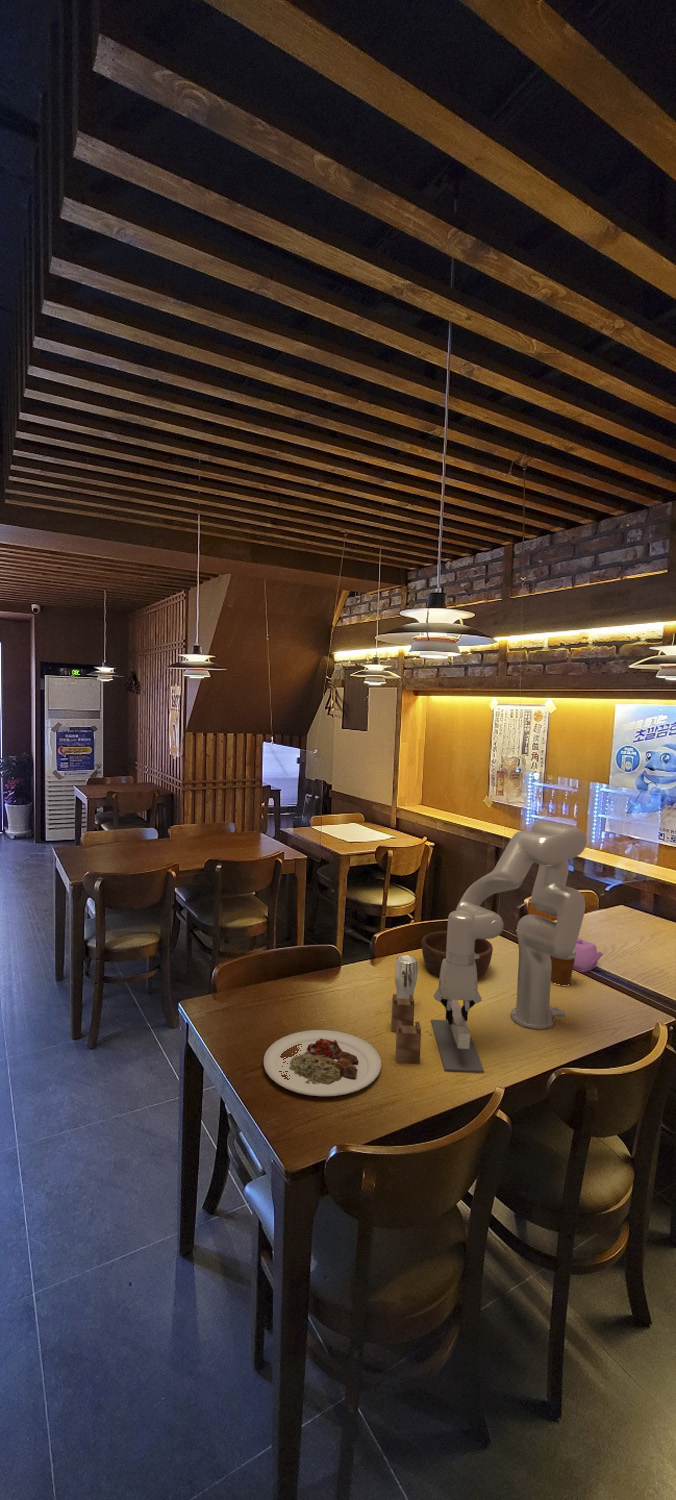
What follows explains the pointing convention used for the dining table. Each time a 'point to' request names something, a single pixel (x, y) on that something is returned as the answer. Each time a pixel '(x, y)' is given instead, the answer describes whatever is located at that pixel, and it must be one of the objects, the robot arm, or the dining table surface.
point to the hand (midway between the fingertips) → (456, 1022)
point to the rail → (459, 1026)
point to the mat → (455, 1050)
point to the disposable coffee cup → (562, 969)
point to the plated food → (323, 1063)
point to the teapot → (585, 956)
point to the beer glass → (405, 976)
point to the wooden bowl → (436, 952)
